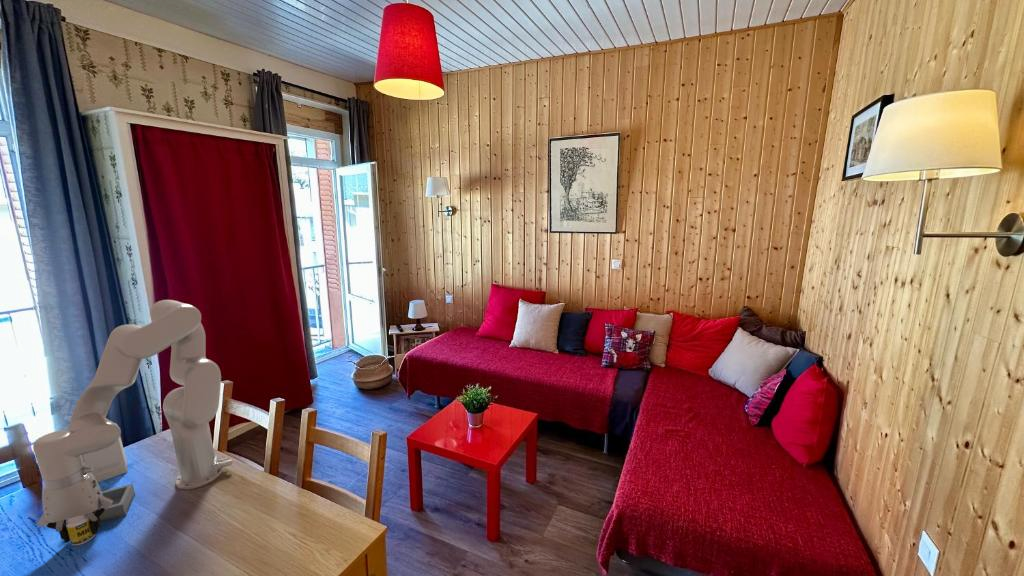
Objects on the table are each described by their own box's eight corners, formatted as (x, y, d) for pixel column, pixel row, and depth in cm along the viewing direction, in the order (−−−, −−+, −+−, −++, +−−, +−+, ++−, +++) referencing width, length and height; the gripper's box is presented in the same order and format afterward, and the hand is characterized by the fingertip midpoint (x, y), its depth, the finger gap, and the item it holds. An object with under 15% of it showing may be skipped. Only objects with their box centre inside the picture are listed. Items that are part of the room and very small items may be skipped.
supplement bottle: (80, 547, 110) (72, 521, 108) (66, 544, 111) (58, 518, 109) (100, 533, 114) (93, 507, 112) (87, 530, 115) (80, 505, 113)
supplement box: (127, 460, 145) (117, 422, 142) (128, 472, 139) (117, 433, 135) (91, 472, 139) (80, 432, 136) (90, 485, 133) (78, 444, 129)
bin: (135, 494, 129) (132, 483, 128) (125, 515, 120) (122, 504, 119) (87, 507, 123) (84, 496, 123) (73, 531, 115) (70, 519, 114)
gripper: (113, 459, 115) (128, 514, 119) (26, 479, 107) (45, 538, 111) (104, 474, 109) (120, 532, 113) (11, 498, 101) (31, 559, 105)
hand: (82, 534), depth 112 cm, fingers closed on supplement bottle, 4 cm apart
